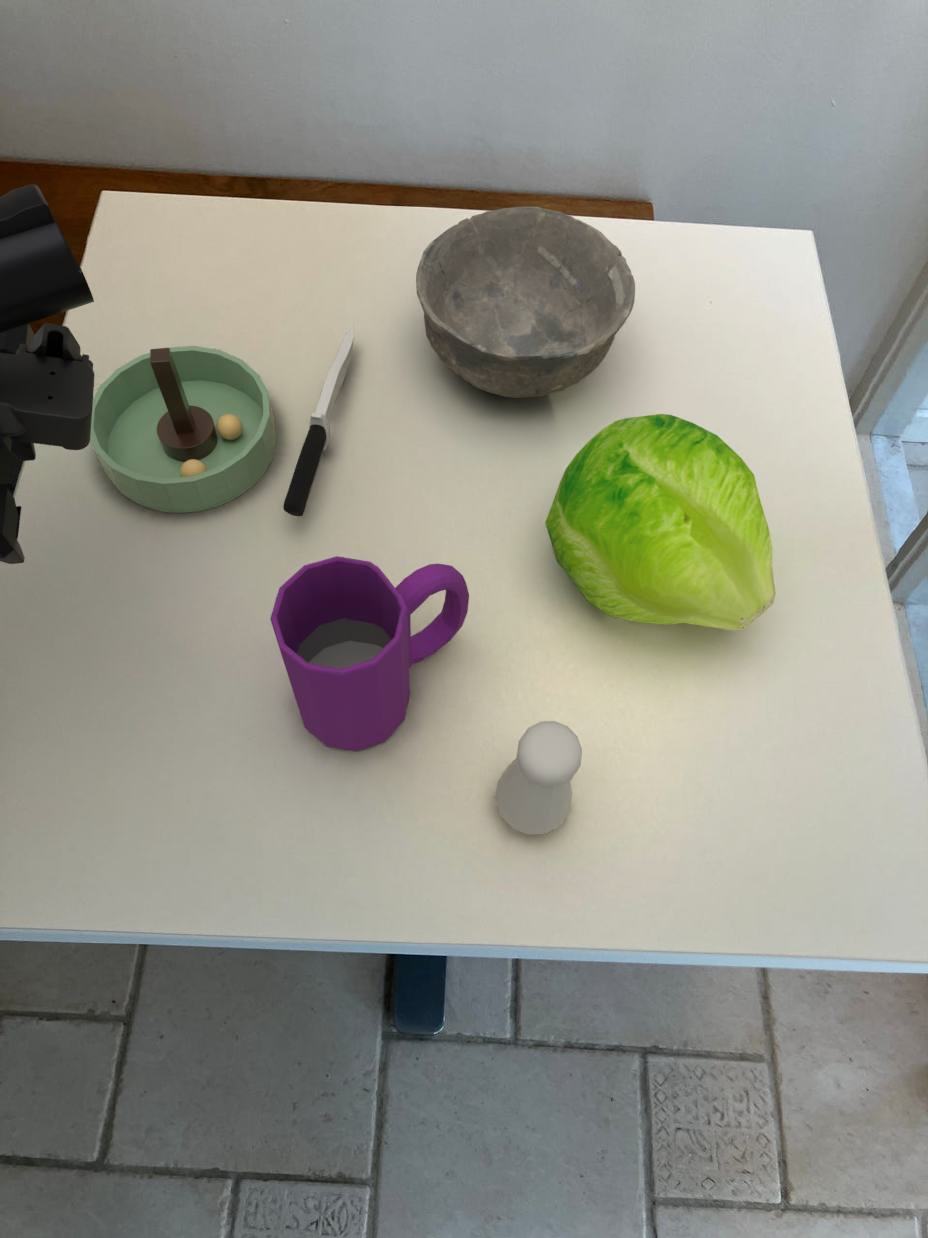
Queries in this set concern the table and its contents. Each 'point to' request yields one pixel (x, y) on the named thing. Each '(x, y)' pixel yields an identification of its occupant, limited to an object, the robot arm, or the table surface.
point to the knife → (318, 431)
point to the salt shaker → (540, 779)
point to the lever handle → (180, 414)
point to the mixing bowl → (137, 406)
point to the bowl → (523, 299)
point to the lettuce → (664, 526)
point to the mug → (359, 643)
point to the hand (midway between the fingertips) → (23, 508)
